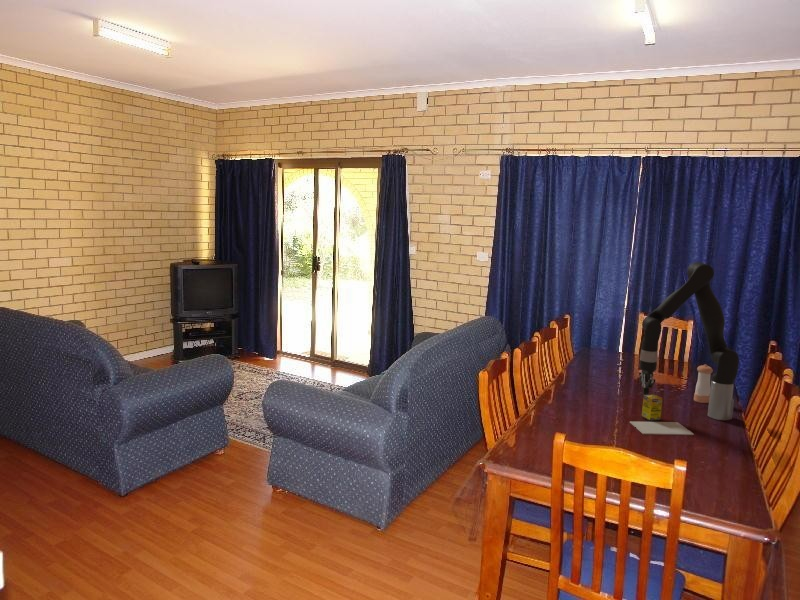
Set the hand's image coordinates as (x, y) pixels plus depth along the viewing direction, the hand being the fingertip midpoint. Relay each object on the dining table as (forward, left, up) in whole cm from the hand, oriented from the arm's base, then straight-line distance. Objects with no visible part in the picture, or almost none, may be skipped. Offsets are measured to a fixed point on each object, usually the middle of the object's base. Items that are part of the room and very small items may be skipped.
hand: (645, 395), depth 271 cm
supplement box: (0, +8, -9) cm, 12 cm away
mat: (+1, +20, -9) cm, 22 cm away
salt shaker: (-39, -20, -9) cm, 45 cm away
